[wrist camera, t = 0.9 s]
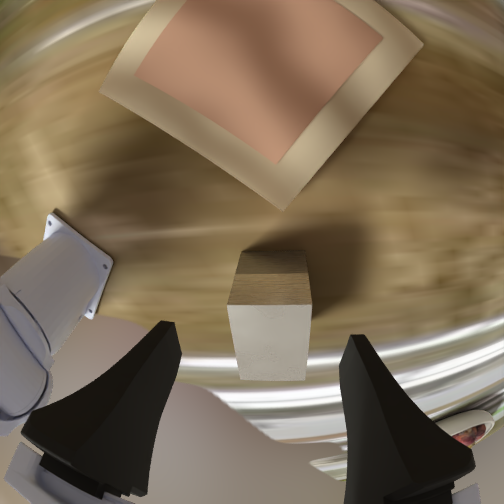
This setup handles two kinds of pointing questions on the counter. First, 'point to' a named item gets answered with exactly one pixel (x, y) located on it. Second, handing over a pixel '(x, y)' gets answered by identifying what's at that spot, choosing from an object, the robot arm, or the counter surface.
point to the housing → (271, 315)
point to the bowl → (468, 426)
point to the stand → (260, 80)
